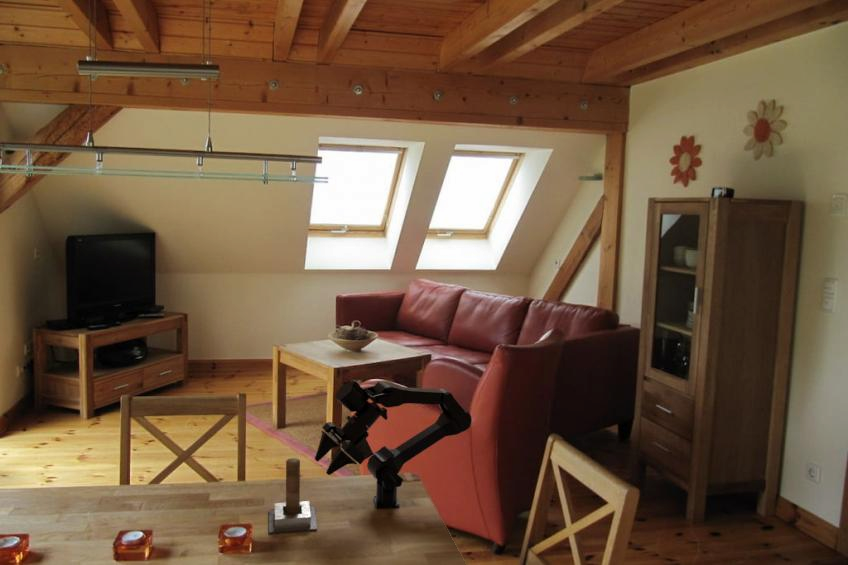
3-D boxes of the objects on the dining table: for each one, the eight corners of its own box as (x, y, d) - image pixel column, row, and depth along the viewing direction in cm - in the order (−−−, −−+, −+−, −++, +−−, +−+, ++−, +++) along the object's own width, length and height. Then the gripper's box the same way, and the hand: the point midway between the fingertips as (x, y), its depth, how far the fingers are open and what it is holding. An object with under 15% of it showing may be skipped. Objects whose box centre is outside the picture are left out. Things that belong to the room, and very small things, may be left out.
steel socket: (268, 511, 188) (268, 500, 188) (314, 508, 191) (314, 498, 190) (268, 534, 177) (268, 522, 176) (316, 530, 179) (317, 519, 179)
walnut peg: (287, 515, 185) (288, 457, 183) (300, 516, 185) (301, 458, 183) (284, 521, 182) (284, 463, 179) (297, 522, 182) (298, 464, 179)
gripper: (394, 451, 184) (354, 498, 180) (367, 427, 200) (329, 470, 197) (367, 426, 179) (325, 474, 176) (341, 404, 195) (302, 447, 192)
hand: (321, 467), depth 185 cm, fingers open, 9 cm apart
